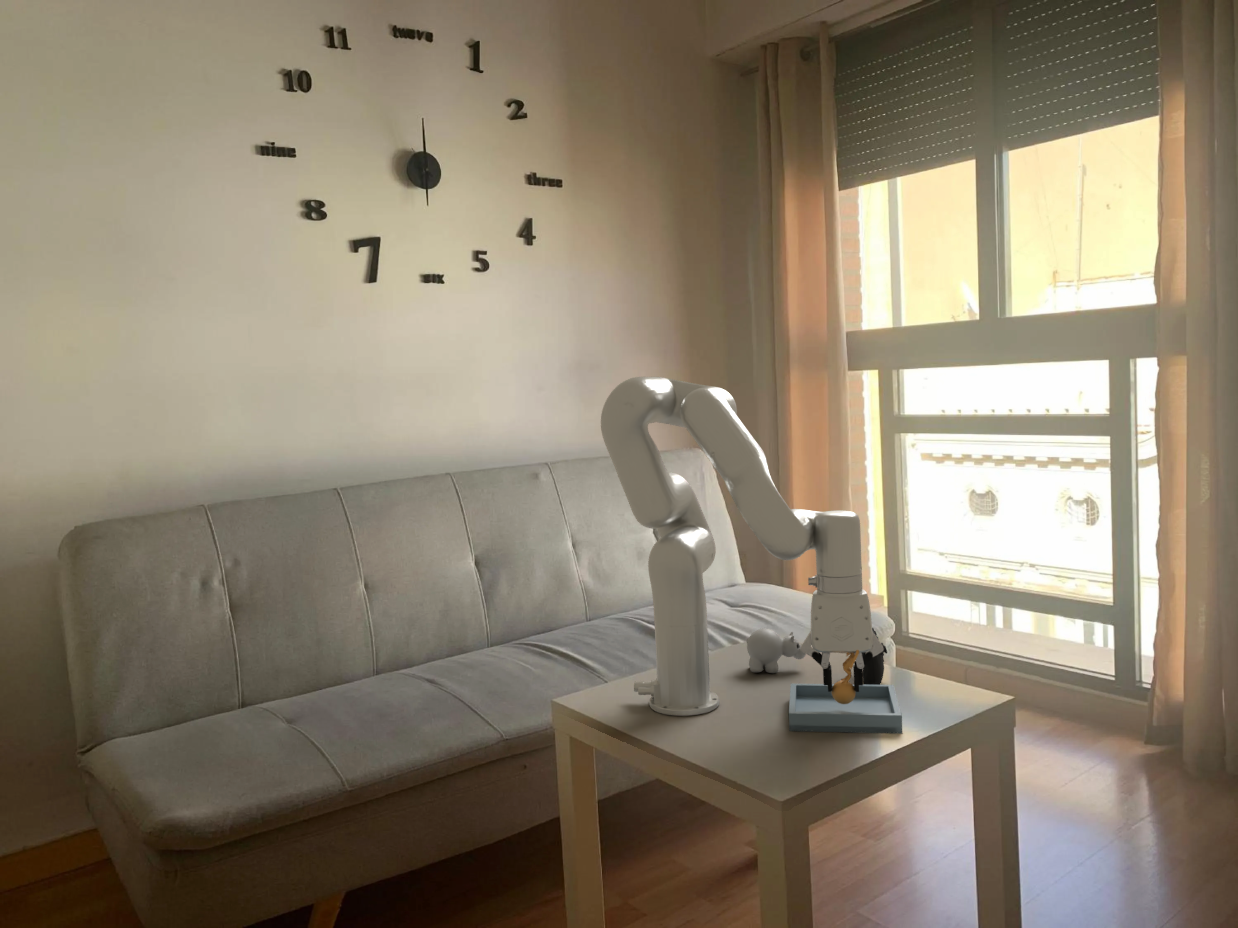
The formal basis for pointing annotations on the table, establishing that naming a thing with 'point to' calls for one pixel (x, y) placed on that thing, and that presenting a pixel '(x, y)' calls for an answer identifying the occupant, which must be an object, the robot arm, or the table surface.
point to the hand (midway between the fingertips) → (843, 688)
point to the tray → (844, 710)
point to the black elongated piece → (874, 668)
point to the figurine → (845, 682)
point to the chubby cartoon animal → (771, 649)
